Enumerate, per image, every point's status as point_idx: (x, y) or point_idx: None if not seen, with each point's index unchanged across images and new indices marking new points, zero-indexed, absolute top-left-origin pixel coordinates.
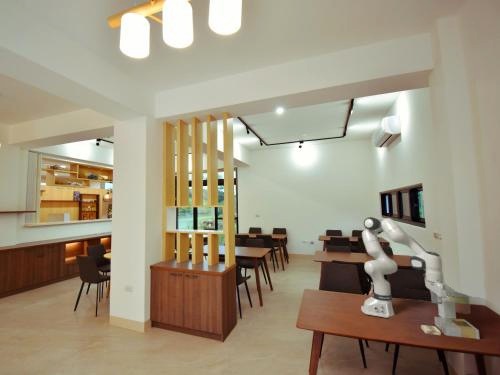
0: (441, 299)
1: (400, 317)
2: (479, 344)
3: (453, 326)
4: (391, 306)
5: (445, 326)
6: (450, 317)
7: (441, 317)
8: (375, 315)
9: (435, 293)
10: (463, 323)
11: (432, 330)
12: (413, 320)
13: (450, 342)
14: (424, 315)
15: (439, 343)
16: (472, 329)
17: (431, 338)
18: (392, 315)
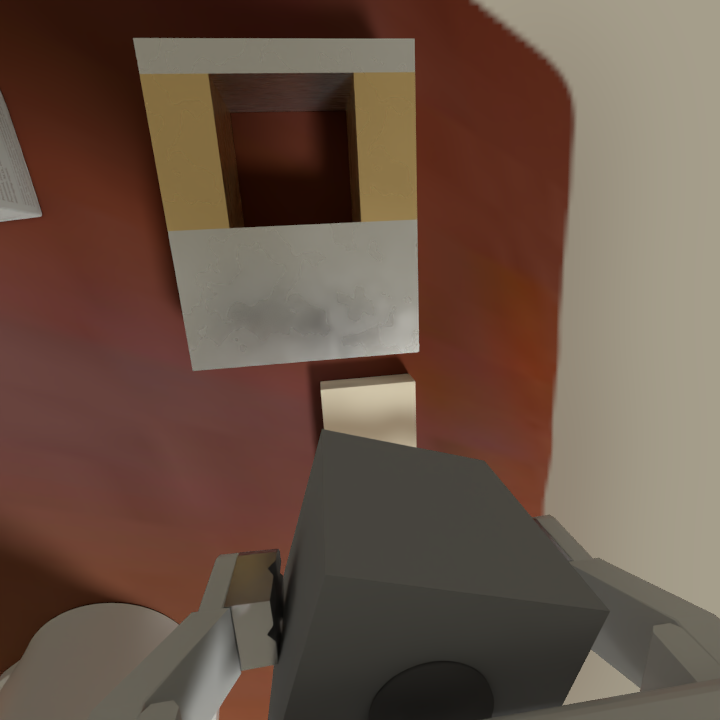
0: (538, 530)
1: (176, 571)
2: (488, 143)
3: (388, 273)
4: (108, 693)
5: (407, 347)
6: (2, 145)
7: (184, 304)
8: (218, 711)
9: None
10: (215, 100)
11: (406, 431)
12: (198, 493)
13: (500, 348)
14: (21, 379)
15: (526, 421)
16: (410, 102)
17: (471, 448)
18: (167, 619)
